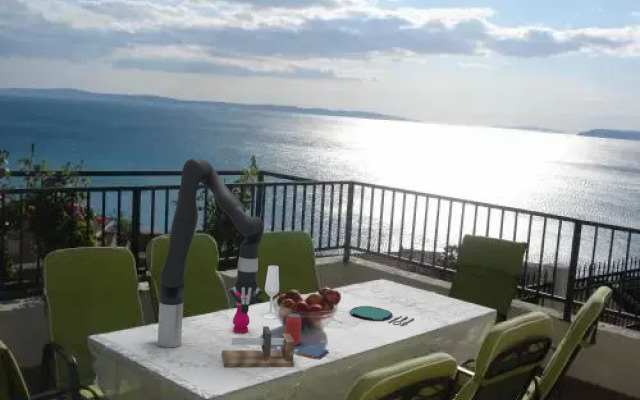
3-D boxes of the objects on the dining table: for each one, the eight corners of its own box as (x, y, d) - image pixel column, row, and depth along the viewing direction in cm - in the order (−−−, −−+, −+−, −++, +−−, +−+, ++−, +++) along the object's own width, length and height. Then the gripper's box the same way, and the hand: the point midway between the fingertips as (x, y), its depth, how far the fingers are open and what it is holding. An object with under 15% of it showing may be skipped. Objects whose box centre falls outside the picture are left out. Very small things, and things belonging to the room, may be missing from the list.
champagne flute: (276, 319, 318) (280, 268, 315) (262, 318, 318) (265, 267, 315) (277, 315, 324) (281, 265, 322) (263, 314, 324) (266, 264, 322)
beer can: (288, 346, 280) (290, 318, 279) (281, 341, 286) (283, 313, 285) (302, 345, 284) (304, 316, 282) (295, 340, 289) (297, 312, 288)
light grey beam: (232, 345, 258) (232, 339, 258) (231, 343, 260) (232, 337, 260) (284, 345, 262) (284, 339, 262) (283, 343, 264) (283, 337, 264)
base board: (224, 367, 252) (225, 343, 251) (221, 354, 266) (223, 331, 265) (293, 366, 258) (295, 343, 257) (287, 353, 271) (289, 331, 270)
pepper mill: (246, 334, 292) (248, 288, 290) (229, 332, 293) (232, 287, 291) (251, 329, 299) (253, 285, 297) (235, 327, 300) (237, 283, 298)
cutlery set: (362, 307, 349) (363, 303, 349) (416, 320, 334) (417, 316, 334) (343, 315, 332) (343, 311, 332) (399, 330, 317) (399, 325, 317)
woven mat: (305, 349, 281) (306, 344, 280) (329, 354, 276) (329, 349, 276) (294, 356, 271) (295, 351, 271) (319, 361, 267) (319, 356, 267)
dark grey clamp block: (264, 356, 258) (266, 333, 257) (261, 348, 266) (263, 326, 265) (270, 356, 258) (271, 333, 257) (266, 348, 267) (268, 326, 266)
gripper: (263, 267, 264) (260, 311, 266) (229, 266, 262) (226, 310, 264) (266, 271, 257) (262, 316, 259) (230, 270, 254) (227, 315, 256)
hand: (244, 313), depth 261 cm, fingers closed
